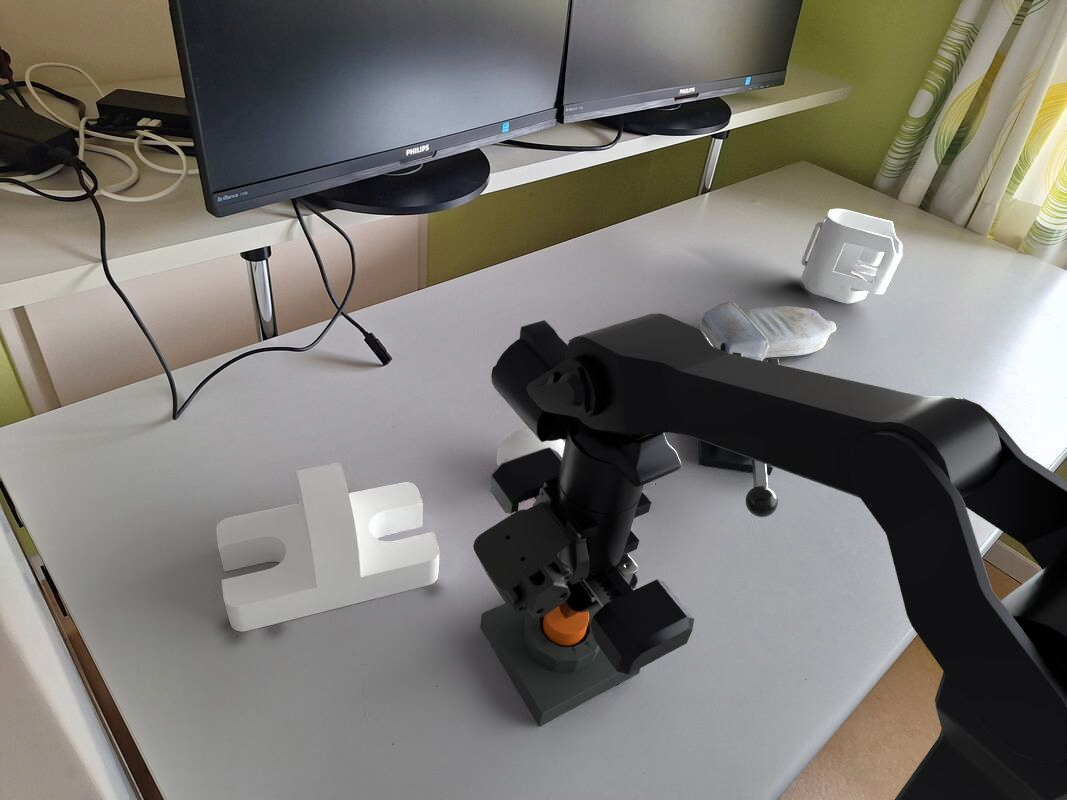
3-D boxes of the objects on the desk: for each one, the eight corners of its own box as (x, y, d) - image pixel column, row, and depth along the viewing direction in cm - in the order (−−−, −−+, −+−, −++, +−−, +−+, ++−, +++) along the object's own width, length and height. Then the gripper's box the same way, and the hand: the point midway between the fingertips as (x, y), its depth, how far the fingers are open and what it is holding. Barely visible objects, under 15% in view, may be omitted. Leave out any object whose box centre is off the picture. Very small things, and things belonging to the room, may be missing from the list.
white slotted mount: (441, 581, 69) (445, 503, 62) (231, 634, 63) (209, 554, 56) (414, 504, 76) (415, 425, 69) (221, 545, 69) (201, 463, 62)
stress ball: (497, 512, 80) (505, 505, 74) (489, 438, 82) (497, 425, 76) (566, 505, 82) (580, 498, 75) (557, 433, 83) (570, 419, 77)
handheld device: (851, 356, 104) (864, 329, 101) (725, 375, 98) (735, 346, 95) (810, 316, 111) (822, 289, 107) (690, 331, 104) (698, 303, 101)
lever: (772, 524, 74) (783, 510, 71) (742, 520, 74) (752, 505, 71) (761, 380, 84) (770, 363, 82) (734, 376, 84) (743, 359, 82)
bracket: (769, 475, 84) (803, 403, 77) (698, 465, 84) (725, 391, 77) (758, 416, 92) (787, 345, 85) (692, 406, 92) (716, 334, 85)
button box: (639, 673, 64) (649, 647, 62) (539, 727, 60) (545, 702, 57) (574, 584, 71) (581, 557, 68) (479, 627, 66) (482, 600, 63)
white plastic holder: (874, 314, 113) (909, 243, 105) (791, 290, 115) (819, 219, 108) (875, 293, 118) (909, 223, 110) (795, 271, 120) (823, 201, 113)
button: (594, 635, 63) (597, 623, 61) (557, 653, 61) (560, 641, 60) (570, 601, 65) (573, 589, 64) (534, 618, 63) (537, 606, 62)
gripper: (432, 428, 54) (428, 564, 64) (577, 640, 42) (543, 764, 52) (564, 388, 59) (540, 519, 69) (725, 567, 47) (668, 693, 57)
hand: (568, 613), depth 62 cm, fingers closed
